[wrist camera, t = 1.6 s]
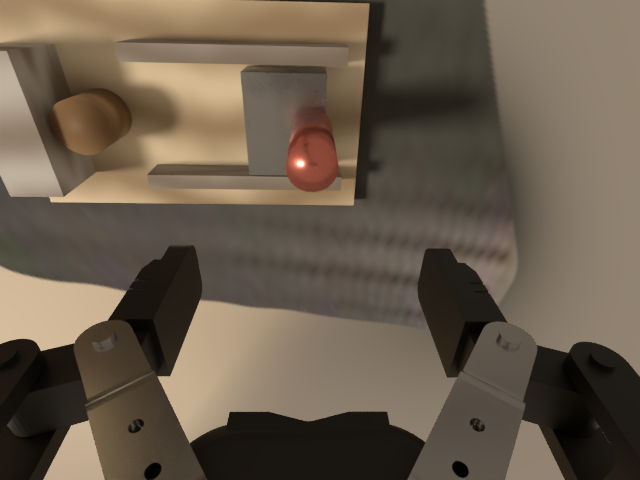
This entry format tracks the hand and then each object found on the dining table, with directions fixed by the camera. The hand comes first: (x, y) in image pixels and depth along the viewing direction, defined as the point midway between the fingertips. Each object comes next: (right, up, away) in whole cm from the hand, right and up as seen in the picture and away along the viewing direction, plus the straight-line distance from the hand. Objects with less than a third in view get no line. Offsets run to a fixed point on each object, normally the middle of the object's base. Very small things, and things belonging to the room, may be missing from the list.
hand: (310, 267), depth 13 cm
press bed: (-10, +12, +18) cm, 24 cm away
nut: (-17, +11, +17) cm, 26 cm away
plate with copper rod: (-2, +11, +17) cm, 20 cm away
